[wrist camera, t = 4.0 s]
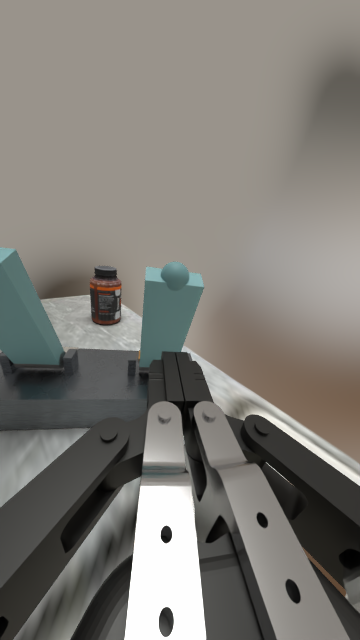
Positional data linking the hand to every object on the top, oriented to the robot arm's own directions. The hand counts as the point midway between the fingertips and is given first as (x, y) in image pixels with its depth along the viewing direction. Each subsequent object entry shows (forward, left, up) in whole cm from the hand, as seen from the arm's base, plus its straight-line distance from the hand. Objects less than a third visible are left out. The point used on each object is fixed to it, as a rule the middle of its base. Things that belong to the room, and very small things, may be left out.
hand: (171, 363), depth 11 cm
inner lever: (-12, +8, -7) cm, 16 cm away
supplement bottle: (-10, +29, -12) cm, 33 cm away
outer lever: (0, +8, -7) cm, 11 cm away
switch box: (-6, +8, -12) cm, 16 cm away
